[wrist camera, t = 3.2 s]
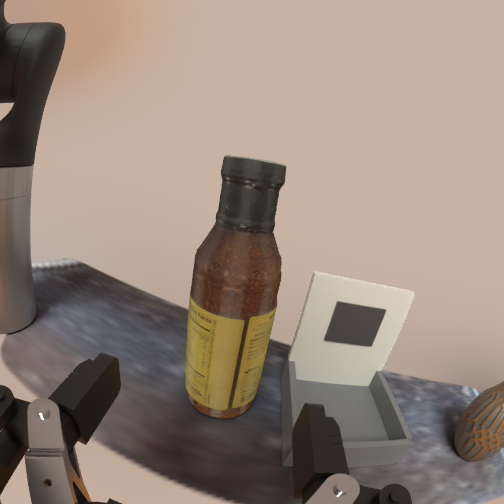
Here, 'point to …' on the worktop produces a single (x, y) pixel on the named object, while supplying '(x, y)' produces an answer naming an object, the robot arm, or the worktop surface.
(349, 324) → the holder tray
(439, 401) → the worktop surface
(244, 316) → the sauce bottle
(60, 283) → the worktop surface
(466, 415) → the vase
